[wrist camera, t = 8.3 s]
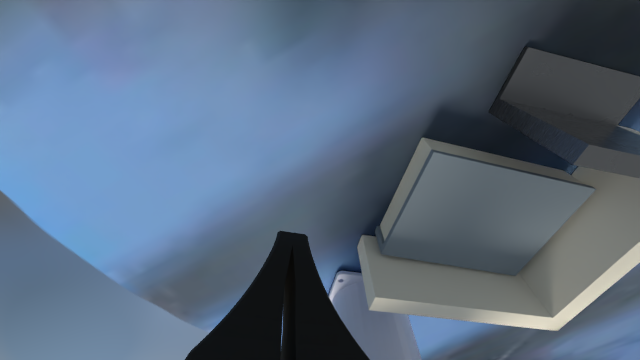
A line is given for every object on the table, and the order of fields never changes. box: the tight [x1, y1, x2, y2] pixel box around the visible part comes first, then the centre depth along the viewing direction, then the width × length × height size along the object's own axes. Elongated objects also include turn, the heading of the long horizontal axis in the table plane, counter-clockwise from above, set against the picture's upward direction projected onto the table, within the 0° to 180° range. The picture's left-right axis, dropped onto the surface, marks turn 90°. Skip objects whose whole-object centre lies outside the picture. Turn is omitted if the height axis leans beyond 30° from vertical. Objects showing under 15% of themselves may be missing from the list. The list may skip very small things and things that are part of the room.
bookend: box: [489, 47, 640, 178], centre depth 15 cm, size 4×9×7 cm, turn 78°
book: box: [375, 137, 596, 276], centre depth 21 cm, size 9×12×3 cm
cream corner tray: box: [357, 125, 640, 331], centre depth 19 cm, size 14×15×6 cm
